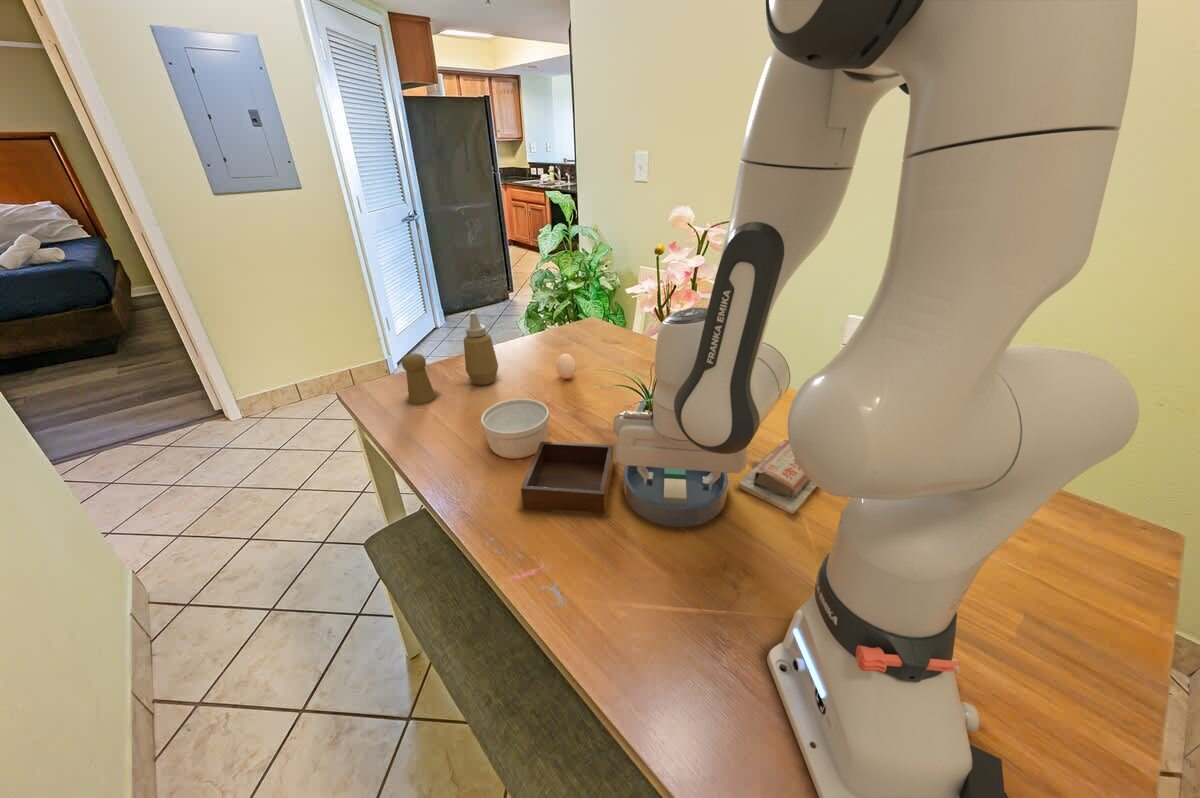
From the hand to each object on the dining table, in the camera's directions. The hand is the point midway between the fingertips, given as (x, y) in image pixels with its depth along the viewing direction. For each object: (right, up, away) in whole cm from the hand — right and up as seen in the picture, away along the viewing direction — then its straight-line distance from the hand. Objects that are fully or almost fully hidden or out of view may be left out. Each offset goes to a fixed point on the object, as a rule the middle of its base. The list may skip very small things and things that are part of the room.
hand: (677, 486), depth 78 cm
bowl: (0, -2, +4) cm, 4 cm away
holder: (-18, -1, +6) cm, 19 cm away
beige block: (0, -3, +1) cm, 3 cm away
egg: (-21, +19, +43) cm, 52 cm away
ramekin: (-29, +5, +18) cm, 35 cm away
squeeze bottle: (-42, +19, +44) cm, 64 cm away
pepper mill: (-56, +14, +37) cm, 68 cm away
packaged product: (+21, 0, +6) cm, 22 cm away
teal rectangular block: (0, 0, +6) cm, 6 cm away
